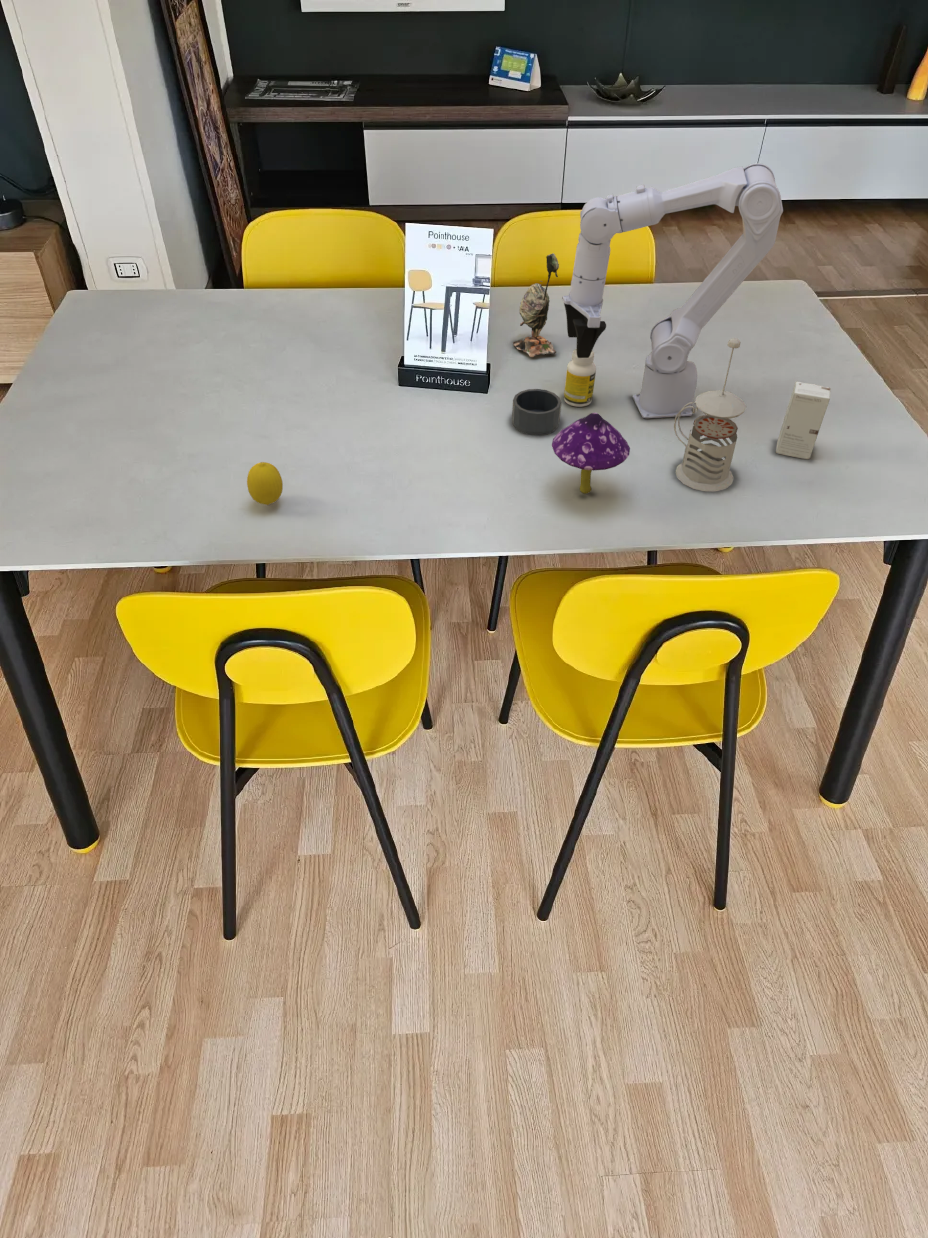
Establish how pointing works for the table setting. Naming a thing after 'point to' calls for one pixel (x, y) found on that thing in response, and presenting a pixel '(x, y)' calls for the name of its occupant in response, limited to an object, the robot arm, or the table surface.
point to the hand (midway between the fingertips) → (578, 346)
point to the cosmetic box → (803, 420)
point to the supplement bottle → (580, 380)
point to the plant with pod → (537, 314)
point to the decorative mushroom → (590, 447)
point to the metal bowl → (536, 412)
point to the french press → (711, 438)
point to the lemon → (264, 483)
